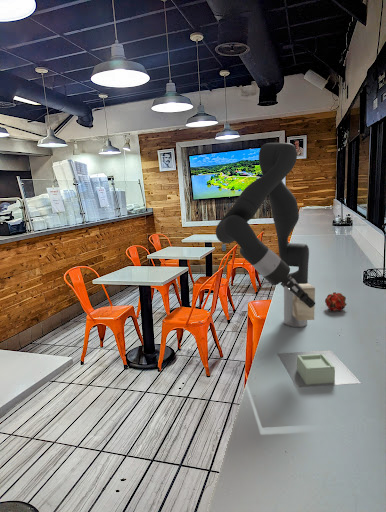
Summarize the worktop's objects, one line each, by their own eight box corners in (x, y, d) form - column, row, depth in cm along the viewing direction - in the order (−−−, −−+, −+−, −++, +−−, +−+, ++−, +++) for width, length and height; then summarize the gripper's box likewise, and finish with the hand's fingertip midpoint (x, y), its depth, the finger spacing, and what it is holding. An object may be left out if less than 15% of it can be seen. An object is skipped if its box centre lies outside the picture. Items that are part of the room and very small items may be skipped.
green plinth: (296, 369, 103) (296, 355, 102) (323, 368, 103) (323, 353, 102) (306, 384, 95) (306, 368, 94) (334, 382, 95) (335, 366, 94)
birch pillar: (292, 314, 108) (292, 284, 106) (308, 314, 108) (308, 283, 106) (297, 320, 103) (298, 288, 101) (314, 319, 103) (314, 287, 101)
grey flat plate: (277, 356, 114) (277, 353, 114) (330, 352, 114) (330, 350, 114) (296, 390, 94) (296, 387, 94) (361, 386, 94) (361, 383, 94)
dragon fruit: (341, 309, 158) (333, 321, 149) (325, 297, 161) (317, 308, 152) (352, 297, 153) (345, 308, 144) (336, 285, 156) (328, 295, 147)
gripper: (286, 261, 95) (328, 301, 97) (273, 253, 109) (309, 287, 111) (267, 281, 95) (309, 319, 98) (256, 270, 110) (293, 303, 112)
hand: (309, 302), depth 104 cm, fingers closed on birch pillar, 5 cm apart
